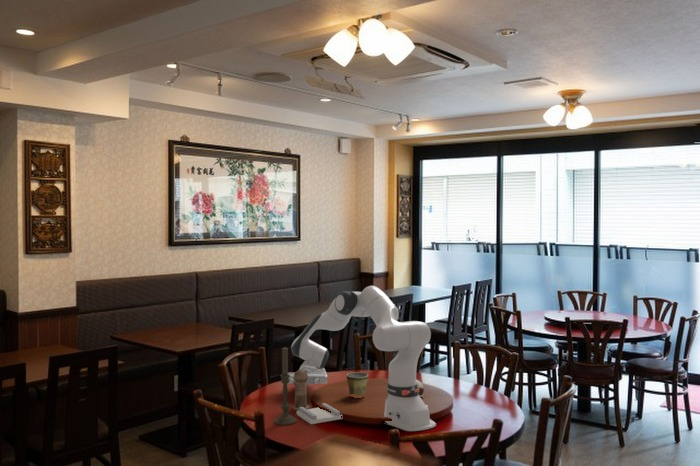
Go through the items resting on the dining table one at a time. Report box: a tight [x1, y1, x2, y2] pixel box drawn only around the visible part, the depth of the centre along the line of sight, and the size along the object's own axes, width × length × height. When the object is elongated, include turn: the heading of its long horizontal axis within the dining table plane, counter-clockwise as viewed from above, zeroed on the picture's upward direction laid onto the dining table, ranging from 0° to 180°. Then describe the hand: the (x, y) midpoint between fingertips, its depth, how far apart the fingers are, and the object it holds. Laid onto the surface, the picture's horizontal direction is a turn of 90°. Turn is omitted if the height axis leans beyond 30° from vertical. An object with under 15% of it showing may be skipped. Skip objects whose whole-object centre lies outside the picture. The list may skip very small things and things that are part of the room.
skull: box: [416, 379, 425, 395], centre depth 277 cm, size 12×10×10 cm
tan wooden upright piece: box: [292, 369, 310, 412], centre depth 258 cm, size 7×7×16 cm
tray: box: [296, 402, 343, 425], centre depth 247 cm, size 14×14×3 cm
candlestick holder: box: [273, 347, 298, 426], centre depth 241 cm, size 9×9×30 cm
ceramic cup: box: [345, 371, 369, 395], centre depth 277 cm, size 13×10×10 cm
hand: (303, 382), depth 269 cm, fingers open, 8 cm apart
